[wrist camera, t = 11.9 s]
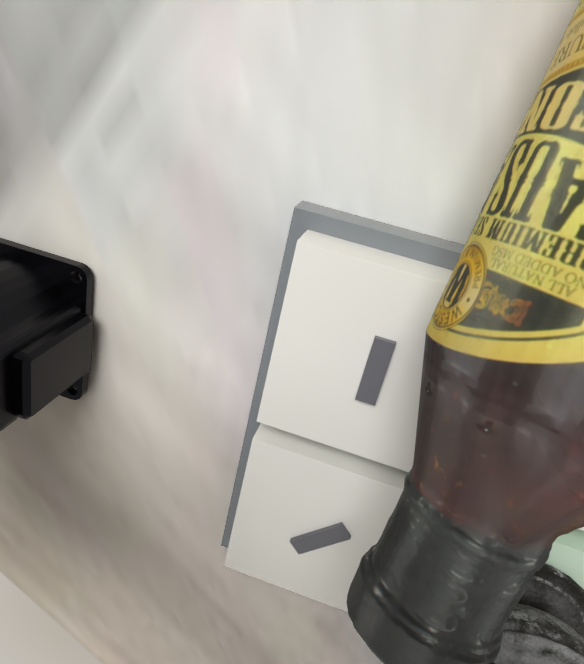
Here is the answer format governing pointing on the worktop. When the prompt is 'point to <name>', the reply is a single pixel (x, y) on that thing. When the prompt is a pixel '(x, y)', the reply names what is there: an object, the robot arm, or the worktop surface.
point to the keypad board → (334, 400)
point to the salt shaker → (546, 622)
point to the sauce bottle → (494, 405)
